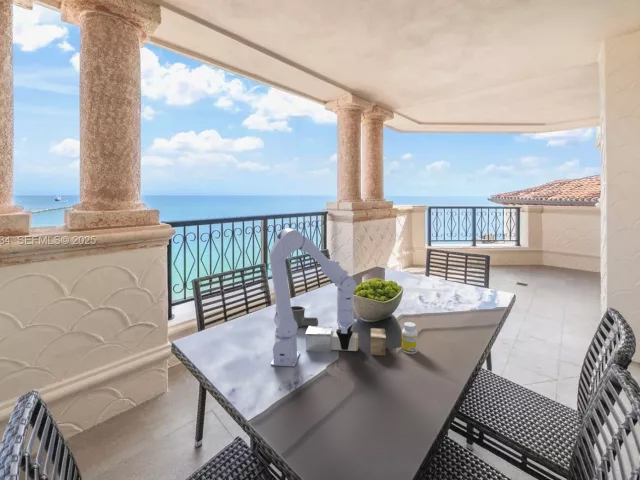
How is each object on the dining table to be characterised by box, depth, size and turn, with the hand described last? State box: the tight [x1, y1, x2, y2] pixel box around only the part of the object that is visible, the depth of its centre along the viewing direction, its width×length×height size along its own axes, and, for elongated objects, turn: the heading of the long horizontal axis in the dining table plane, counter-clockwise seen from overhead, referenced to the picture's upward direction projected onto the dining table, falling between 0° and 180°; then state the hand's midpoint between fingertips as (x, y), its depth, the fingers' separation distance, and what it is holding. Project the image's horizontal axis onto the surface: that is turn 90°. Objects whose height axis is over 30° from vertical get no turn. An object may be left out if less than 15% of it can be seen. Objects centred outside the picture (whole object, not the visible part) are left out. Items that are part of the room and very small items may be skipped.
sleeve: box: [305, 326, 333, 353], centre depth 117 cm, size 7×9×6 cm
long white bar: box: [331, 331, 359, 352], centre depth 116 cm, size 4×17×5 cm, turn 82°
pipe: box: [291, 305, 319, 328], centre depth 135 cm, size 6×13×8 cm, turn 78°
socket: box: [370, 327, 387, 357], centre depth 114 cm, size 7×5×6 cm
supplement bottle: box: [401, 321, 419, 355], centre depth 113 cm, size 5×5×10 cm
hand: (345, 344), depth 116 cm, fingers open, 7 cm apart
